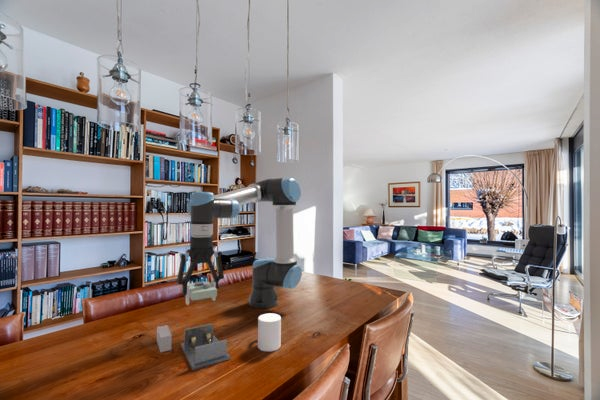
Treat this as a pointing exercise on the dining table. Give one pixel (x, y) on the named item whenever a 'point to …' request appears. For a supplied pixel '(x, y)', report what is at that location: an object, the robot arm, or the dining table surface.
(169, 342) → the stand
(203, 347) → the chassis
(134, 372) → the dining table surface
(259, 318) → the mug
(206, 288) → the board
